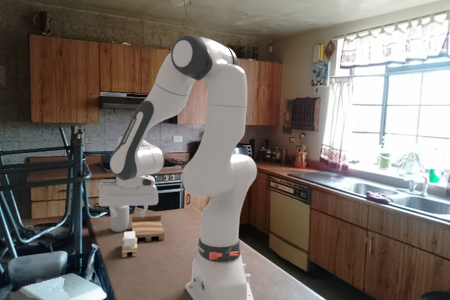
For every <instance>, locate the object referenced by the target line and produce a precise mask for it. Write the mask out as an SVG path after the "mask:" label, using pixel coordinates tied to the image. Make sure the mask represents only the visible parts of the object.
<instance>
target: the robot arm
mask: <svg viewBox="0 0 450 300" xmlns="http://www.w3.org/2000/svg"><path fill="white" fill-rule="evenodd" d="M171 47H172V48H171V51H170V52H169V53H168V55H167V56H166V57H165V59H164V61H162V62H163V63H162V64H161V66H160V68H159V70H158V73H157V74H156V77H155V80H154V84H153V86H152V88H151V90H150V92H149V93H148V95H147V97H146V98H145V99H144V100H143V101H142V102H141V103H139V105H138V106H137V108H136V109H135V111H134V113H133V115H132V117H131V118H130V121H129V123H128V125H127V128H126V129H125V130H124V133H123V134H122V135H120V136H119V137H118V140H117V147H115V149H114V151H113V152H112V154H111V156H110V159H109V168H110V171H111V172H112V174H113V175H114V176H115V178H116V179H113V178H111V179H105V178H104V179H102V180H100V181H99V182H98V185H97V190H98V192H99V196H98V205H99V207H108V208H109V211H111V212H112V214H113V218H117V212H115V211H114V210H113V209H114V206H129V207H130V206H132V207H133V206H143V210H140V215H139V216H140V217H145V216H146V212H147V210H148V208H149V206H156V205H158V203H159V193H158V188H157V185H156V180H155V177H154V176H153V175H152V174H156V173H159V172H160V171H162V169H163V167H164V165H165V156H164V155H165V154H164V152H163V151H162V149H161V148H160V147H159V146H156V145H153V144H151V143H149V142H148V141H146V139H145V138H146V136H147V133H148V132H149V131H150V129H151V128H153V127H154V126H155V125H157V124H159V123H161V122H163V121H165V120H168V119H170V118H173V117H175V116H178V115H179V114H180V113H181V112H182V111H183V109H184V108H185V106H186V104H187V102H188V99H189V98H190V93H191V91H192V88H193V86H194V84H195V82H196V81H197V82H198V81H201V80H202V81H203V82H204V83H205V84H206V87H207V99H206V112H205V121H204V122H205V123H204V130H203V135H202V139H201V141H200V144H199V146H198V148H197V150H196V152H195V154H194V155H193V157H192V158H191V159H190V161H188V162H187V164H185V166H184V167H183V170H182V173H181V174H182V175H181V181H182V185H183V188H184V189H185V190H186V192H187V193H188V194H189V195H190V196H191V197H195V198H210V199H209V201H208V203H207V205H206V206H205V207H204V208H203V209H202V211H201V215H200V234H199V235H200V237H199V238H198V243H197V249H198V252H197V253H198V254H196V257H194V258H193V260H192V269H191V270H192V271H191V280H190V281H189V282H188V283H186V285H185V289H186V291H187V293H188V294H189V296H190V297H191V298H192V300H255V299H254V296H253V292H252V289H251V286H250V283H251V281H252V278H251V274H250V273H246V272H245V270H246V269H247V264H246V263H243V259H242V258H243V257H242V254H241V243H240V239H239V232H240V231H239V230H240V229H239V228H240V217H241V213H242V208H243V205H244V202H245V199H246V196H247V192H248V191H249V188H250V187H251V186H252V184H254V183H253V182H254V181H255V180H256V178H257V175H258V168H257V164H256V162H255V161H254V159H253V158H252V157H251V156H249V155H247V154H243V153H234V151H235V149H236V147H237V145H238V143H239V142H240V141H241V140H242V139H243V138H244V136H245V132H246V120H247V107H248V81H247V75H246V72H245V70H244V69H243V68H241V66H239V65H238V59H237V56H236V53H235V52H234V51H233V50H232V49H231V48H230V47H229V46H227V45H225V44H221V43H220V42H218V41H215V40H213V39H210V38H206V37H202V36H199V35H195V34H186V35H182V36H180V37H178V38H177V39H176V40H175V41H174V43H173V45H172V46H171Z"/></svg>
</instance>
